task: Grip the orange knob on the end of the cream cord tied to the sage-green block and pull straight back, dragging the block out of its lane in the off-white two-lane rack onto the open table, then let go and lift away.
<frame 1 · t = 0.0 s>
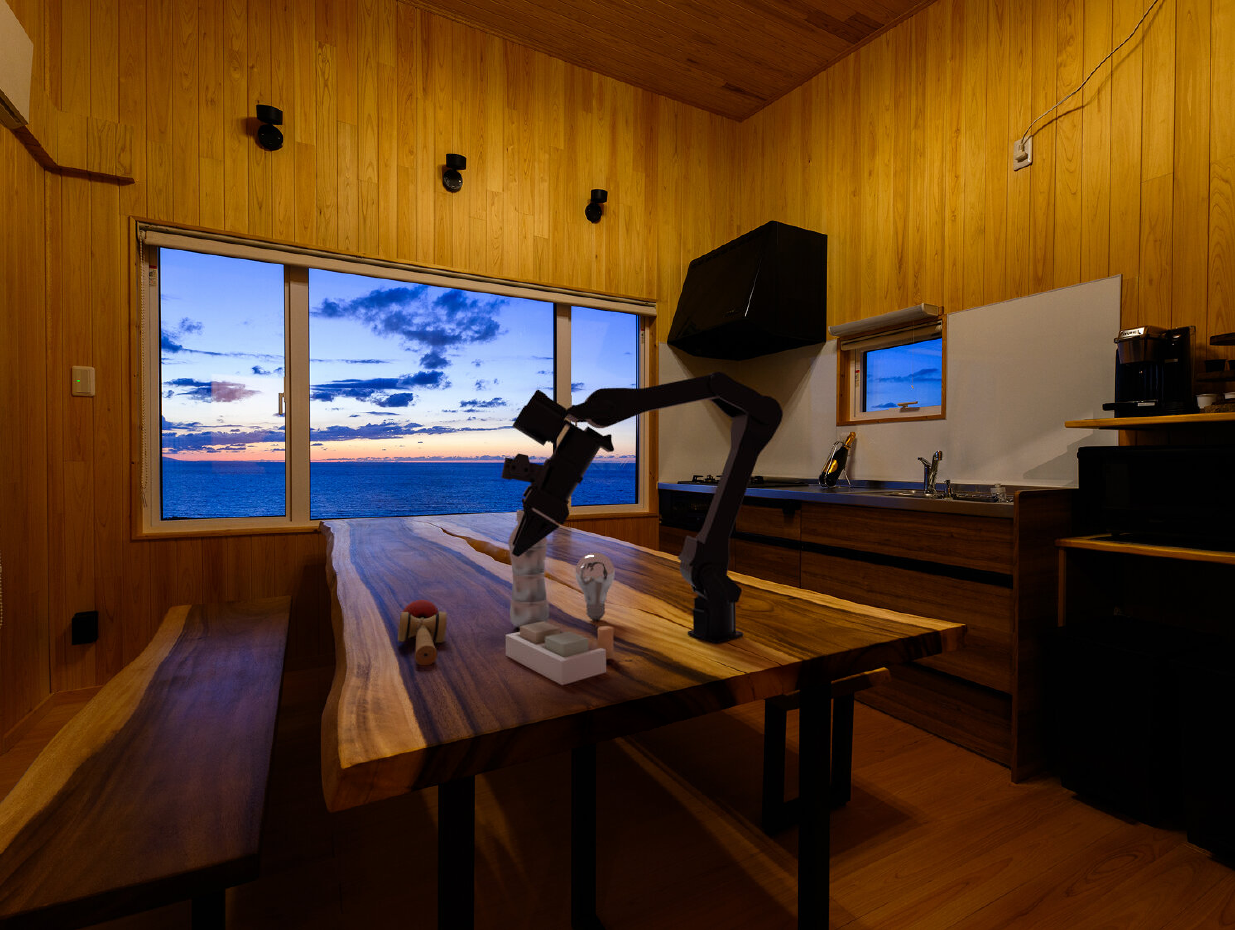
hand: (514, 550, 89), 15 cm above the table, tool tilted 35°, fingers open, 9 cm apart
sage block: (566, 670, 80), on the table
light bulb: (595, 621, 104), on the table
plastic bottle: (529, 628, 101), on the table
ash block: (540, 657, 85), on the table
kendama: (423, 649, 91), on the table
lane rack: (553, 663, 83), on the table
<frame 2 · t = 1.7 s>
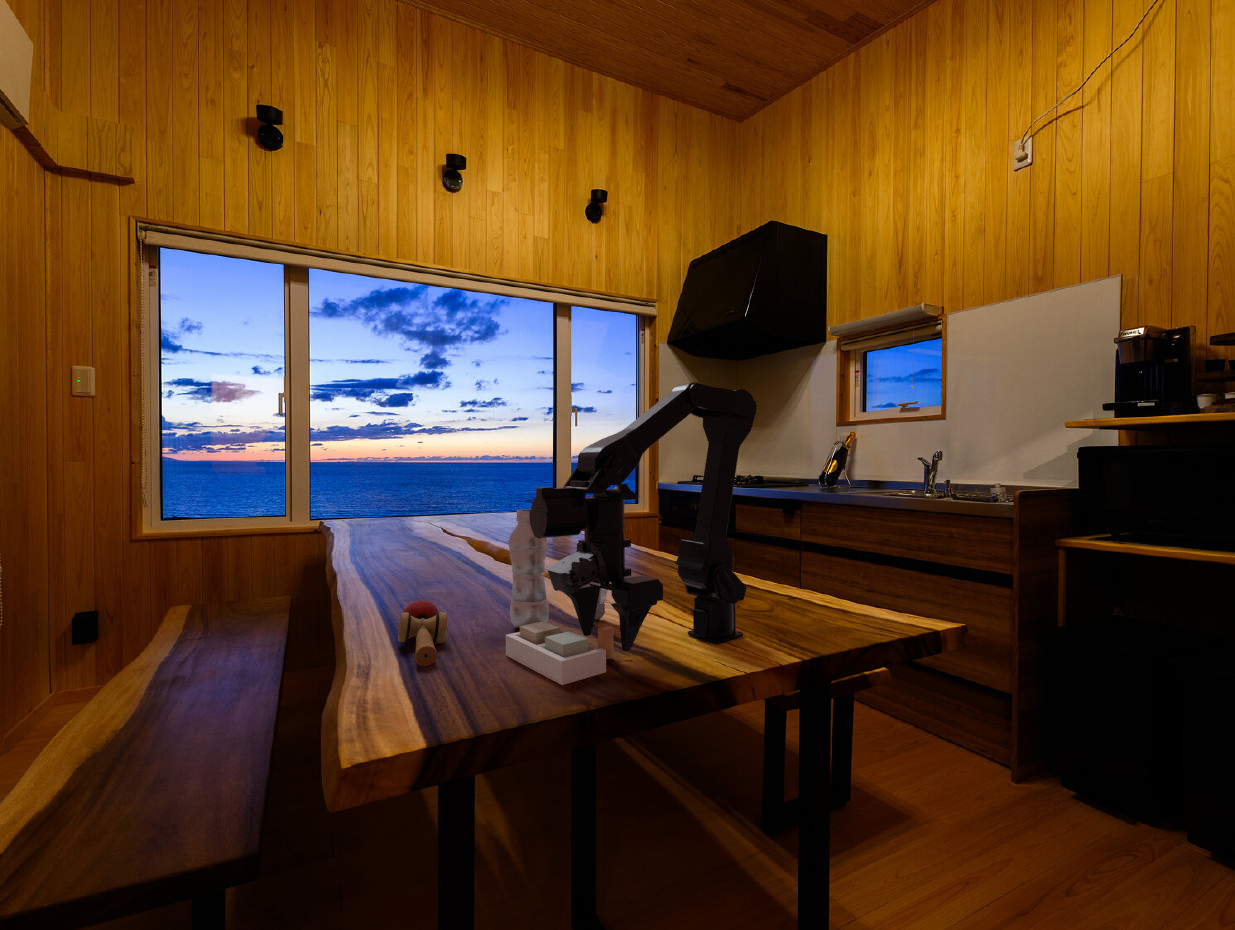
hand: (606, 642, 84), 2 cm above the table, tool pointing down, fingers open, 9 cm apart
nothing on the table moved.
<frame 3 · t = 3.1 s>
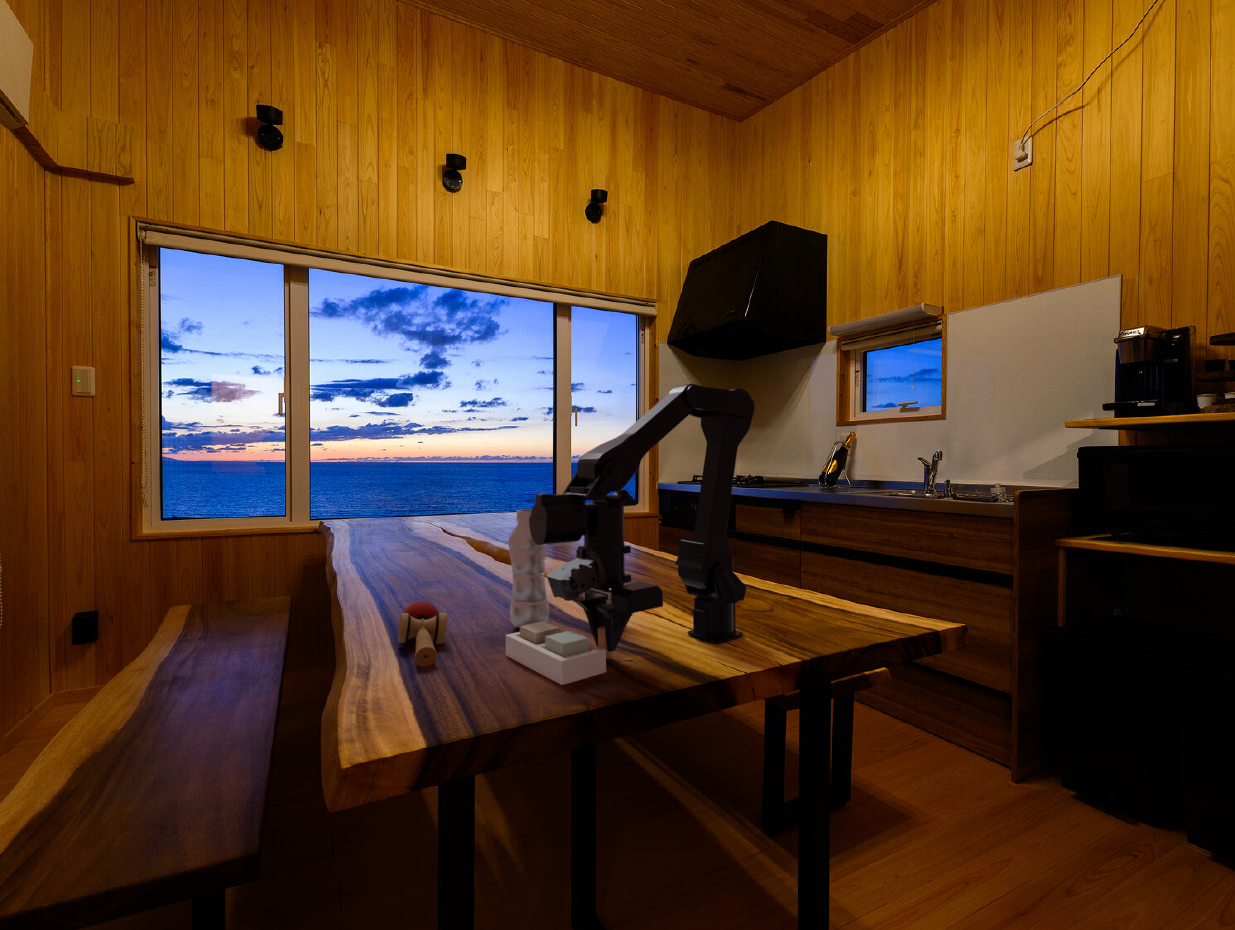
hand: (605, 648, 84), 2 cm above the table, tool pointing down, fingers closed on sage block, 2 cm apart
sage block: (566, 670, 80), on the table, touching gripper
everything else where it was.
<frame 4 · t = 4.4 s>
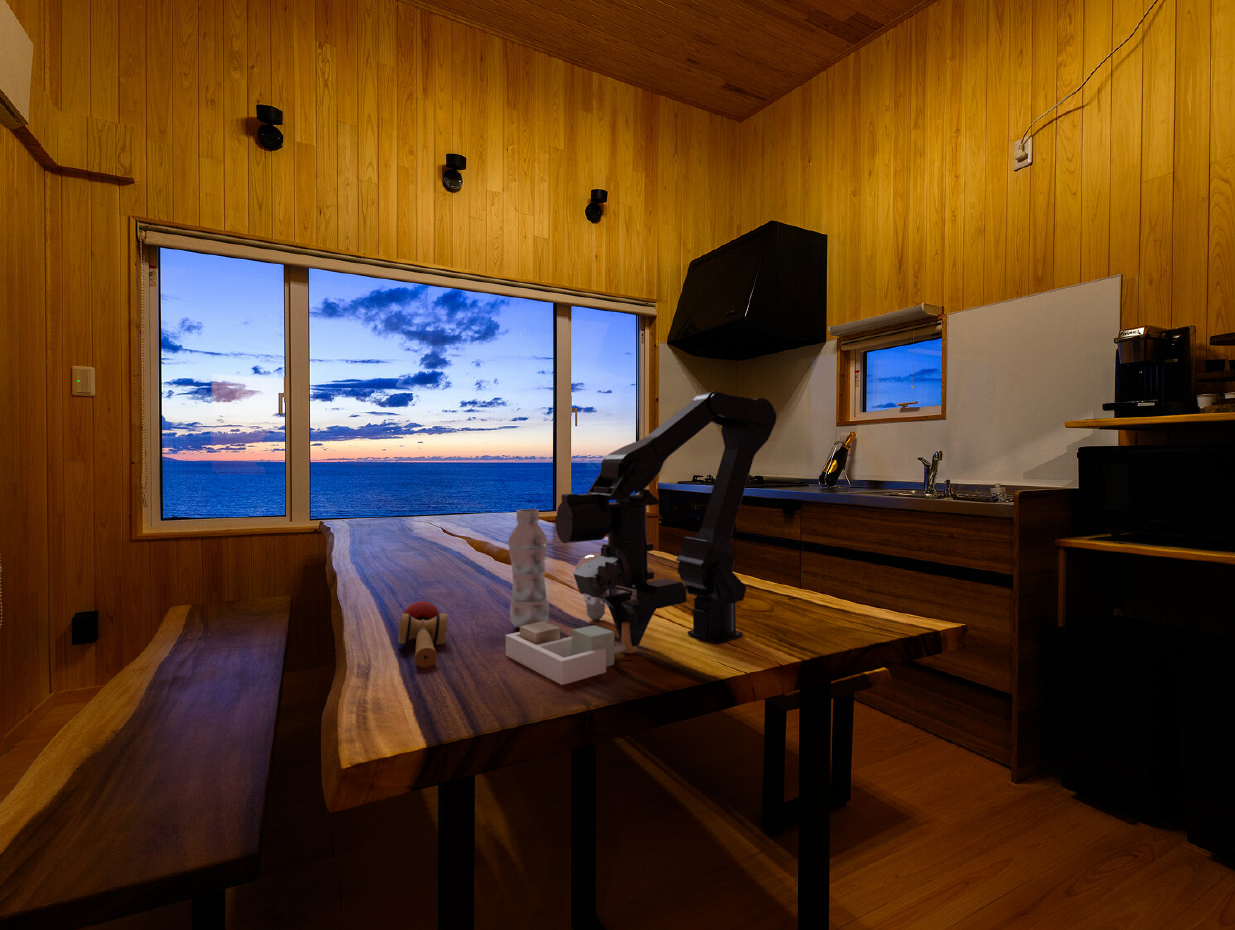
hand: (629, 643, 87), 1 cm above the table, tool pointing down, fingers closed on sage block, 2 cm apart
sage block: (592, 663, 82), on the table, touching gripper
everything else where it was.
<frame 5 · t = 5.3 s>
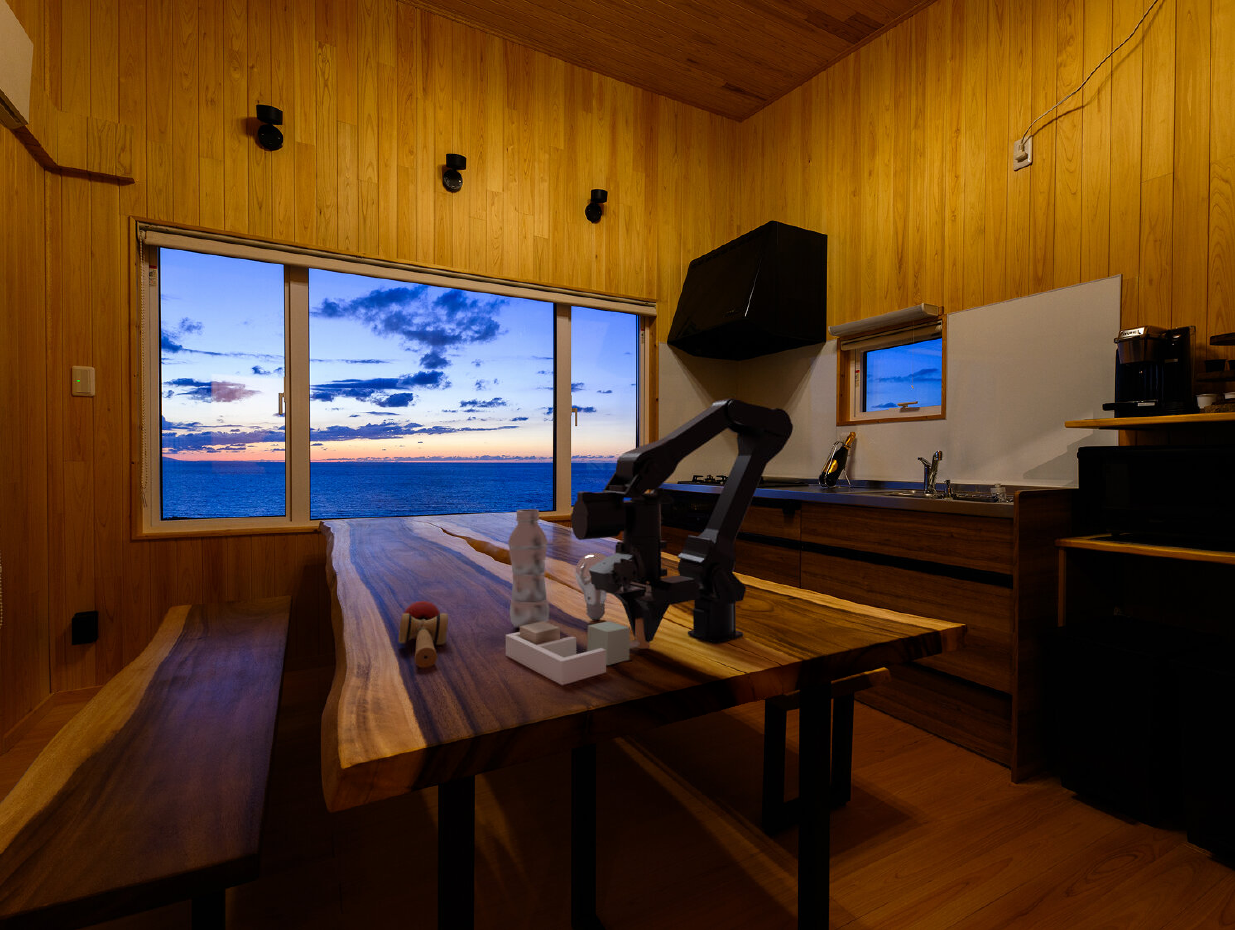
hand: (643, 639, 88), 1 cm above the table, tool pointing down, fingers closed on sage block, 2 cm apart
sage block: (608, 658, 84), on the table, touching gripper
when the fingers open (1 cm above the table, at t = 5.9 s): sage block stays where it is, on the table.
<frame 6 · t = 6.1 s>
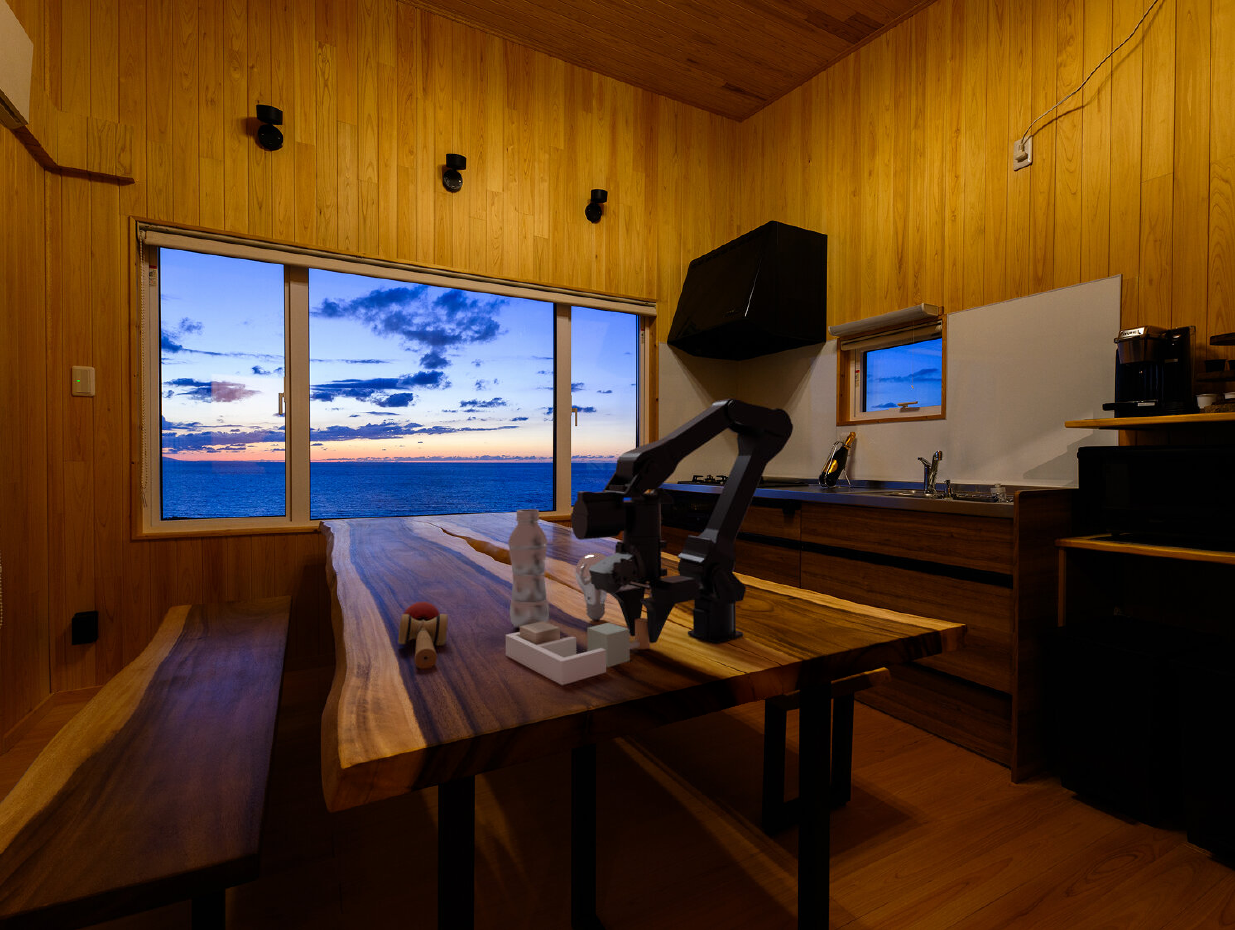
hand: (643, 639, 88), 1 cm above the table, tool pointing down, fingers open, 4 cm apart
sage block: (608, 660, 84), on the table
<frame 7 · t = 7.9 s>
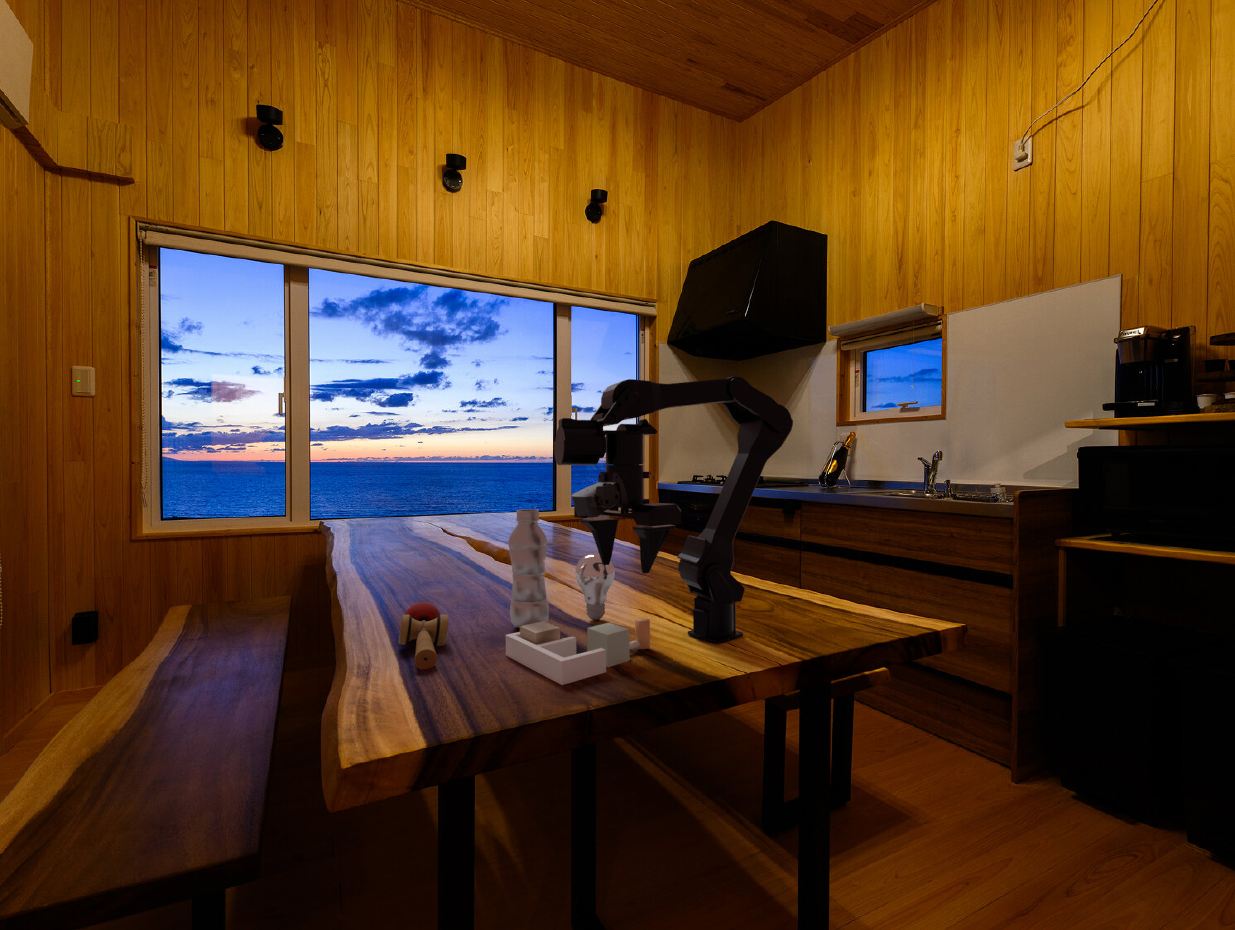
hand: (625, 568, 89), 12 cm above the table, tool pointing down, fingers open, 9 cm apart
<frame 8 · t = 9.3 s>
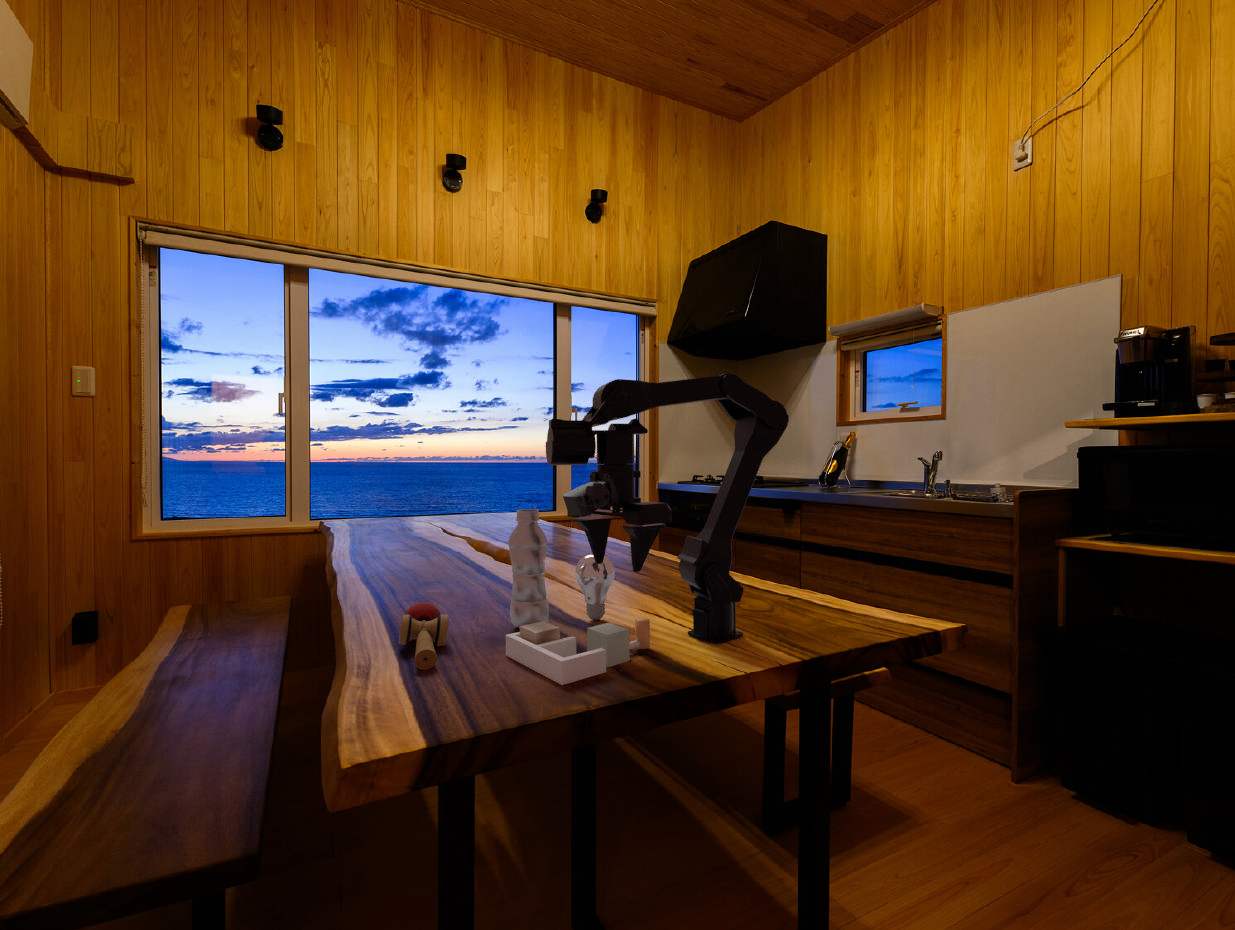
hand: (617, 567, 90), 12 cm above the table, tool pointing down, fingers open, 9 cm apart
at the end: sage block inside the target area (2.0 cm from its centre), on the table; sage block tilted 0°; ash block moved 0.1 cm from its start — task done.
